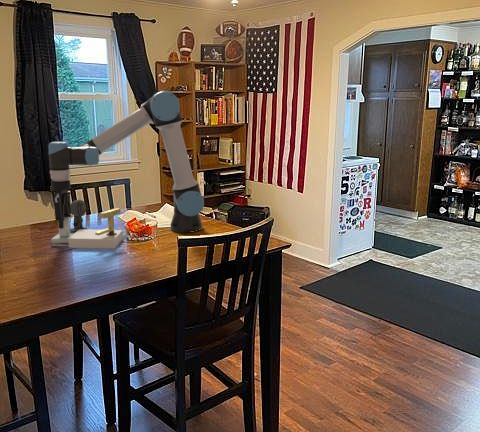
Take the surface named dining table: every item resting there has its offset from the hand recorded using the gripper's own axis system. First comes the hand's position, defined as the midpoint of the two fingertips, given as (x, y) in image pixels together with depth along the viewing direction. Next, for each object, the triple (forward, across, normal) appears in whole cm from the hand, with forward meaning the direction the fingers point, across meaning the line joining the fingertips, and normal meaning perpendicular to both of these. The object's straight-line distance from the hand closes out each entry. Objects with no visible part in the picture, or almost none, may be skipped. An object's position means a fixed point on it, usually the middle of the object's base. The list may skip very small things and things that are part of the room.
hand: (64, 233), depth 201 cm
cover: (+3, 0, 0) cm, 3 cm away
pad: (+4, 0, 0) cm, 4 cm away
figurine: (+4, -17, 0) cm, 17 cm away
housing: (+4, 0, +14) cm, 14 cm away
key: (0, +2, +19) cm, 19 cm away
